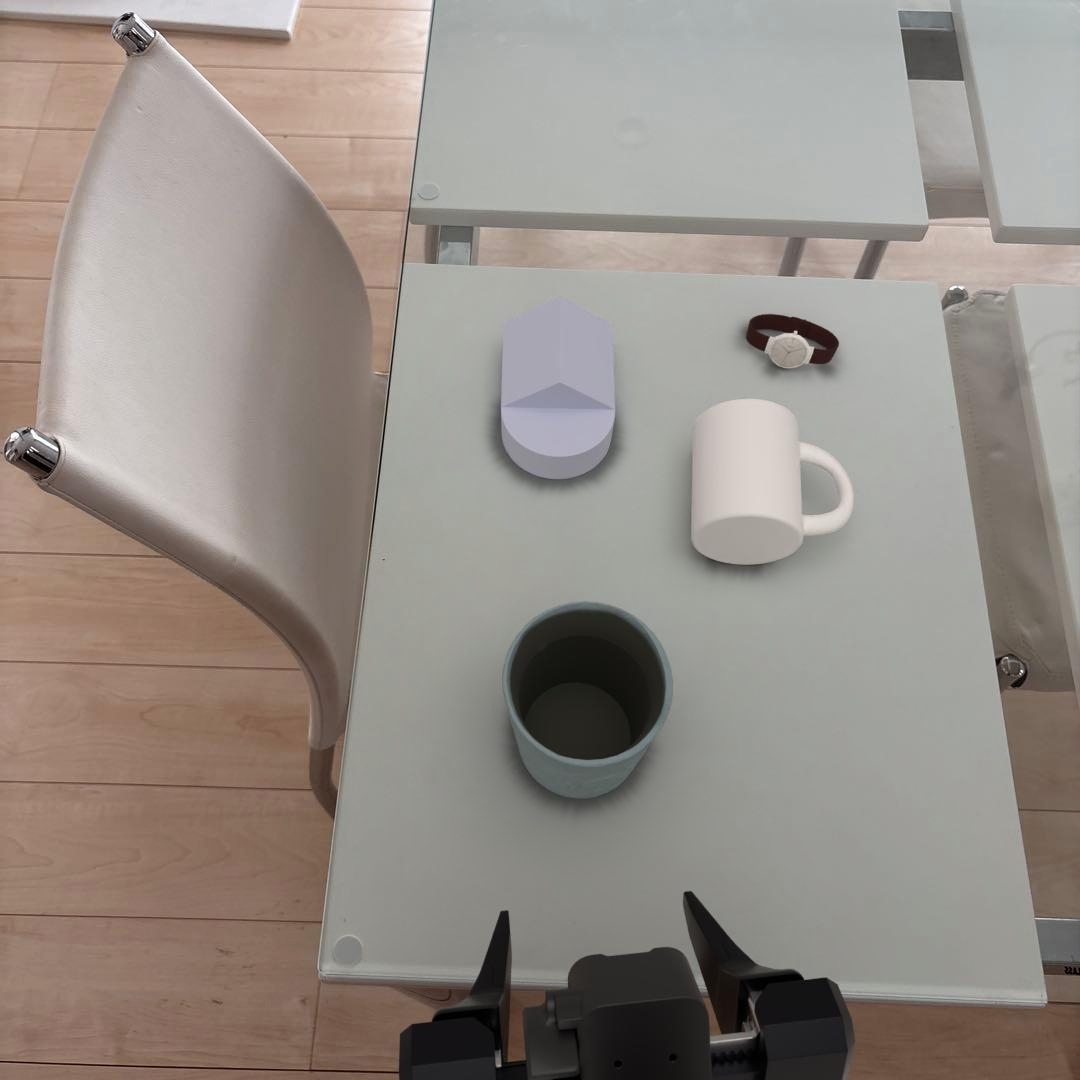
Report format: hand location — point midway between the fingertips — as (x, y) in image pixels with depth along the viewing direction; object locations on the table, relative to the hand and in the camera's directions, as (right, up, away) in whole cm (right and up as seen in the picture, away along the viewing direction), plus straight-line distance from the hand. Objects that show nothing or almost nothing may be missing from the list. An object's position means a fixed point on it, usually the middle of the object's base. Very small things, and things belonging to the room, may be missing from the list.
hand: (596, 906), depth 48 cm
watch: (+19, +35, +35) cm, 53 cm away
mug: (+14, +21, +27) cm, 37 cm away
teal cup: (0, +5, +19) cm, 19 cm away
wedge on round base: (-2, +29, +31) cm, 43 cm away
